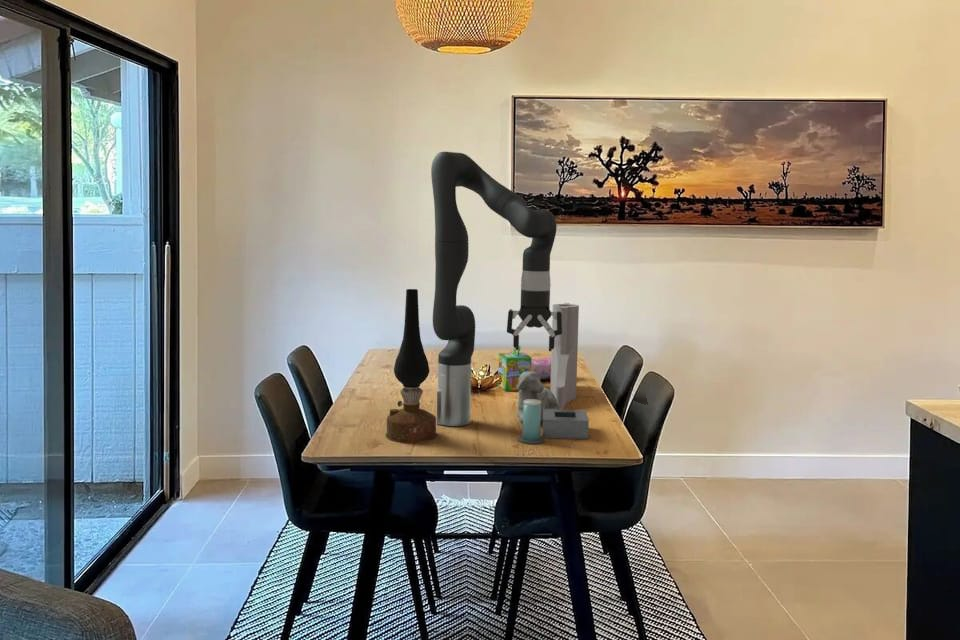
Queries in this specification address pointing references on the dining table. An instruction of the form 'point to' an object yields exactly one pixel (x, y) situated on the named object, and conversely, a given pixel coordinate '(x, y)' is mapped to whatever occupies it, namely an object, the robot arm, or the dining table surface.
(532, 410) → the teal canister
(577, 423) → the housing
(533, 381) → the sculpture
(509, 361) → the chalk box
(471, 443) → the dining table surface
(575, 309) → the grey piece
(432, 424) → the oil lamp
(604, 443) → the dining table surface
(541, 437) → the coaster
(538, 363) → the pencil case
